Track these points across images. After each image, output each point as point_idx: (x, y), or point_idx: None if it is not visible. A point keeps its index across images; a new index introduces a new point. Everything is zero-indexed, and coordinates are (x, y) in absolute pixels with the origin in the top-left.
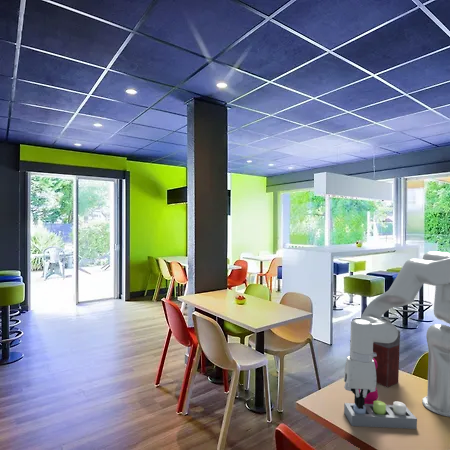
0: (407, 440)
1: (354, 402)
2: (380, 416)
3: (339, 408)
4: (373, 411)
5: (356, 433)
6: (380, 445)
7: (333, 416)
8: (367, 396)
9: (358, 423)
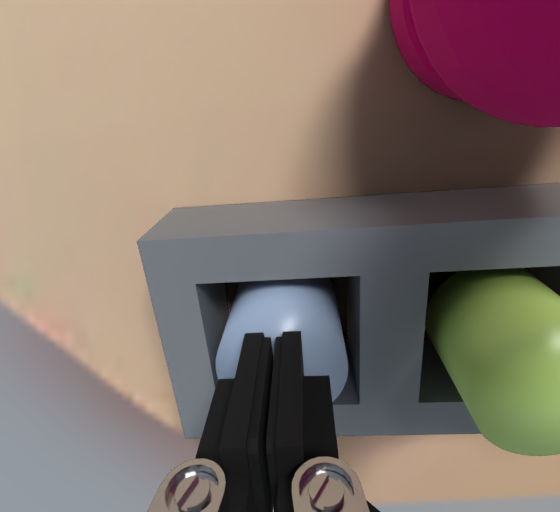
0: (533, 465)
1: (218, 380)
2: (454, 425)
3: (136, 141)
4: (435, 328)
5: None
6: None
7: (77, 280)
8: (512, 114)
9: None
